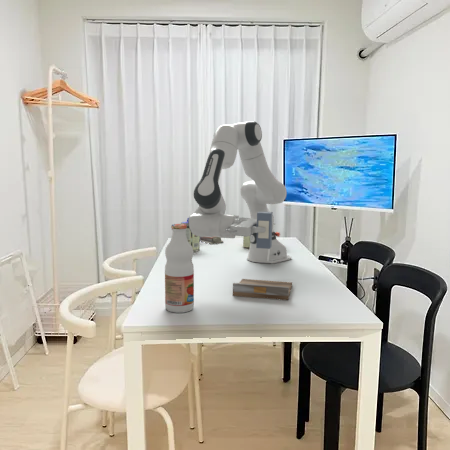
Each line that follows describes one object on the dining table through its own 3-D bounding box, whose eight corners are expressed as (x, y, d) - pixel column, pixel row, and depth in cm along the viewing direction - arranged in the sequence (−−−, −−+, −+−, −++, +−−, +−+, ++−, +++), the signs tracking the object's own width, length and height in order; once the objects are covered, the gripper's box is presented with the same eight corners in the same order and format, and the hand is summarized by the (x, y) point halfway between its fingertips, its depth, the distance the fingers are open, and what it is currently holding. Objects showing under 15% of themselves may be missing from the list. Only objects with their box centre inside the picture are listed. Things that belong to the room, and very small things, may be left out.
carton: (258, 245, 165) (259, 211, 163) (271, 246, 164) (272, 212, 162) (256, 248, 160) (257, 212, 158) (269, 248, 159) (270, 213, 157)
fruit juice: (164, 304, 147) (163, 223, 143) (191, 303, 149) (191, 222, 145) (166, 314, 138) (165, 227, 134) (195, 312, 140) (195, 226, 136)
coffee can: (185, 247, 243) (185, 222, 241) (202, 249, 240) (202, 223, 238) (177, 251, 233) (177, 225, 231) (195, 252, 230) (195, 226, 228)
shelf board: (242, 282, 175) (242, 271, 174) (292, 286, 171) (292, 274, 170) (232, 295, 157) (232, 283, 157) (287, 300, 153) (288, 288, 152)
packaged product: (224, 235, 258) (210, 237, 252) (224, 243, 259) (210, 245, 253) (206, 231, 272) (193, 232, 266) (206, 238, 273) (193, 240, 267)
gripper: (223, 222, 153) (262, 223, 150) (235, 214, 173) (270, 216, 170) (223, 239, 154) (262, 241, 151) (235, 230, 174) (270, 232, 171)
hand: (266, 228), depth 161 cm, fingers closed on carton, 5 cm apart
